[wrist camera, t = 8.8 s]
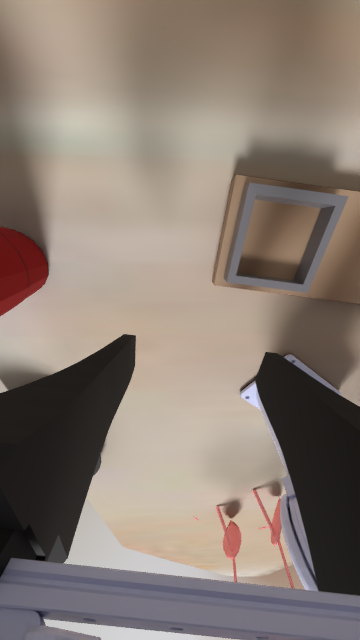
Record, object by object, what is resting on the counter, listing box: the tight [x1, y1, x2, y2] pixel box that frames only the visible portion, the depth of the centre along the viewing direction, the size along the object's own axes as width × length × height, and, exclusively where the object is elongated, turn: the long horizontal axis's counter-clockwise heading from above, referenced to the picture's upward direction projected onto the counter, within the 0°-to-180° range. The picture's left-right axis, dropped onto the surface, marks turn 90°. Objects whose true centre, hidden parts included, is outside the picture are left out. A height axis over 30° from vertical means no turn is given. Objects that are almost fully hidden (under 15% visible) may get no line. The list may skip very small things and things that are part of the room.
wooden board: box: [212, 175, 360, 304], centre depth 16 cm, size 23×8×2 cm, turn 83°
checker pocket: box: [224, 183, 349, 293], centre depth 14 cm, size 7×7×2 cm
